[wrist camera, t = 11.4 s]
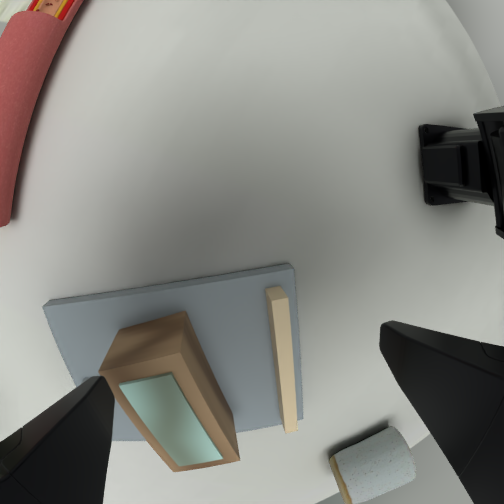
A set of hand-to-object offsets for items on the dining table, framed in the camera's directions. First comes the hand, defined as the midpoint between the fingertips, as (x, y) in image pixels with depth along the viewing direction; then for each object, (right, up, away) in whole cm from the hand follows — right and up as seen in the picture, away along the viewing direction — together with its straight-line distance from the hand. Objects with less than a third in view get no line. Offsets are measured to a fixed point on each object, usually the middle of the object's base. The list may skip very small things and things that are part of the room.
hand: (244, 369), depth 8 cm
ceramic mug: (+13, -20, +19) cm, 31 cm away
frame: (-5, -6, +11) cm, 14 cm away
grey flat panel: (-5, -5, +13) cm, 15 cm away
